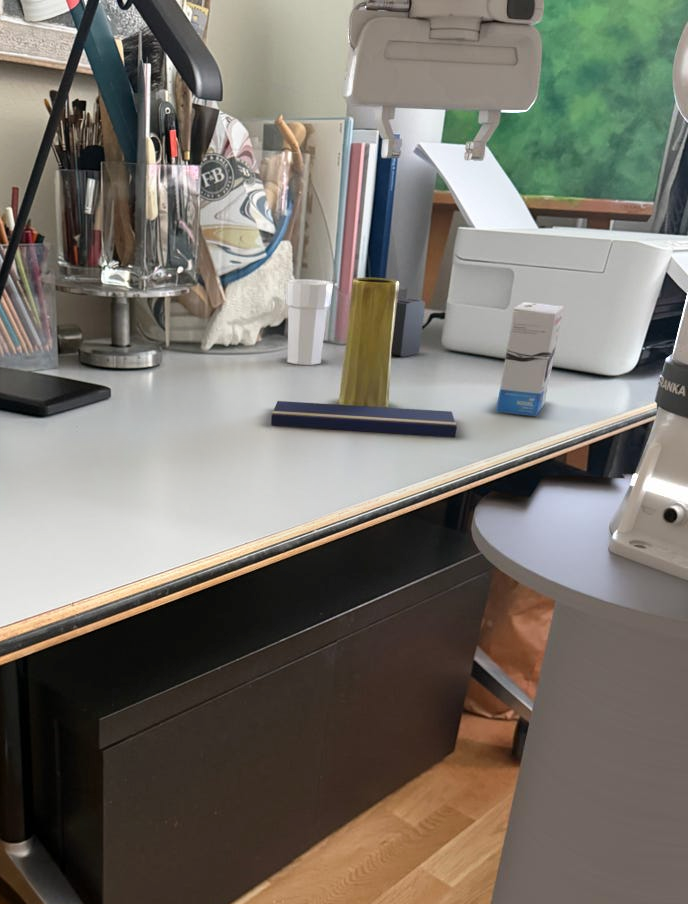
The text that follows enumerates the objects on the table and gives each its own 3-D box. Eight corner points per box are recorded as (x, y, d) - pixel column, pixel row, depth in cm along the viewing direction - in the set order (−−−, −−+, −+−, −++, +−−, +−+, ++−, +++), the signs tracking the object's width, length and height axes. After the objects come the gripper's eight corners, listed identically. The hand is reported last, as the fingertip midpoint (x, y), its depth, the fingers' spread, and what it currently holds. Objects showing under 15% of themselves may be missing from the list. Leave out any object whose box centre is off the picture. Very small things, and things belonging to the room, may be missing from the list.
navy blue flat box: (450, 421, 107) (452, 410, 106) (455, 437, 101) (457, 425, 100) (276, 410, 109) (277, 399, 109) (271, 425, 103) (271, 413, 103)
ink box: (537, 418, 110) (557, 312, 104) (494, 412, 111) (511, 308, 106) (546, 403, 117) (565, 304, 111) (505, 398, 118) (522, 300, 113)
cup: (291, 355, 141) (296, 278, 136) (332, 360, 139) (339, 281, 134) (274, 362, 136) (278, 282, 131) (316, 367, 134) (323, 286, 129)
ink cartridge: (407, 351, 147) (413, 298, 143) (419, 354, 146) (426, 299, 142) (388, 355, 144) (394, 300, 140) (400, 357, 142) (406, 302, 139)
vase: (377, 413, 109) (392, 284, 103) (329, 406, 112) (340, 280, 106) (395, 404, 114) (410, 279, 108) (349, 397, 117) (360, 275, 110)
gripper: (362, -11, 87) (349, 156, 93) (560, 3, 91) (534, 161, 97) (340, 0, 93) (328, 157, 99) (527, 12, 97) (505, 162, 103)
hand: (432, 159), depth 98 cm, fingers open, 8 cm apart
